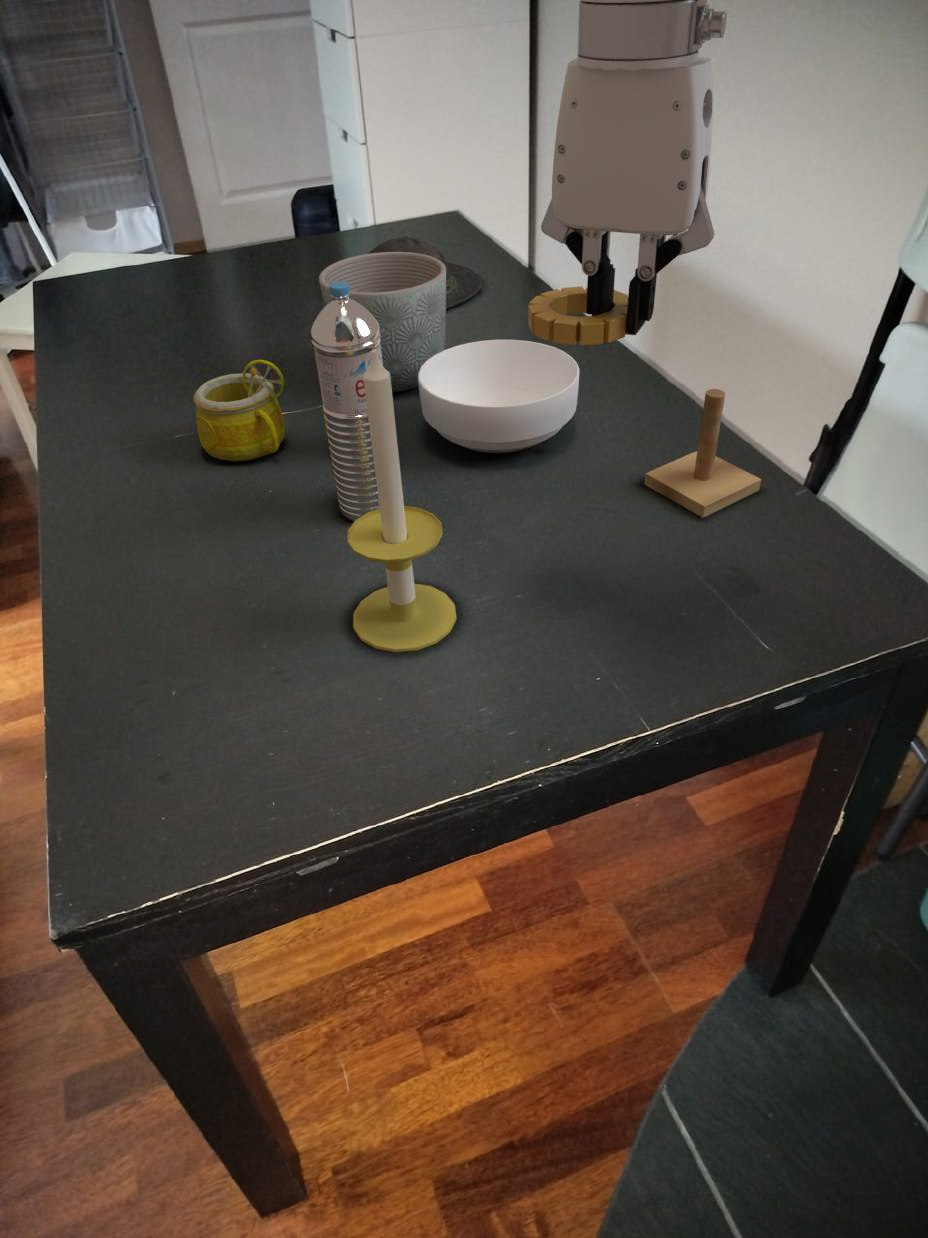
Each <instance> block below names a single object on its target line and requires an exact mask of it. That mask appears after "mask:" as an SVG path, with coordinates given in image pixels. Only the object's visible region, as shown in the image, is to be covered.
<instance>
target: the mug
mask: <svg viewBox="0 0 928 1238" xmlns="http://www.w3.org/2000/svg"><path fill="white" fill-rule="evenodd" d="M256 364H262V365H266V366H267V368H266V371H265V373H264V375H263V376H262V374H261V372H259V369H258V368H257V366H256ZM248 368H250V370H249V373H246V372H247V370H248ZM271 369H273V370H274V371H275V372H276V374H277V375H278V377H279V378H276V379H273V378H271V379H268V378H266V377H267V376H268V374H269V372H270V371H271ZM274 384H278V385H280V389H279V391H278V392H277V393H275V391H274V389H275V387H274ZM284 388H285V379H284V376H283V374H282V371H281V370H280V369H279V367H277V366H276V365H275V364H274V363H272V362H271V361H268V360H264V359H254V360H252V361H250V362H248V363H247V364H246V366H245V367H244V368H243V371H242V373H229V374H225V375H221V376H218V377H215V378H212V379H210V380H207V381H206V382H204V383H203V384H201V385H200V386H199V388H197V390H196V391H195V392H194V394H193V396H192V397H193V398H192V400H193V402H194V405H195V407H196V408H195V416H196V427H197V434H198V438H199V442H200V445H201V448H203V449H204V451H205V452H206V453H207V454H208V455H209V456H211V457H213V458H215V459H218V460H222V461H228V462H245V461H252V460H255V459H260V458H262V457H264V456H267V455H271V454H273V453H276V452H277V451H279V448H280V445H281V444H282V442H283V441H284V439H285V437H286V433H287V431H286V430H287V429H286V423H285V419H284V416H283V411H282V409H281V406H280V404H279V401H278V397H280V396H281V394H282V393H283V390H284Z"/></svg>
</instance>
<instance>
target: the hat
mask: <svg viewBox="0 0 928 1238" xmlns="http://www.w3.org/2000/svg"><path fill="white" fill-rule="evenodd" d="M380 252H410V253H418V254H424V255H428V256H431V257H434V258H436V259H438V260H440V261H441V262H442V263H443V264H444V265H445V267H446V310H448V309H451V308H452V307H455V306H457V305H459V304H462V303H465V302H466V301H468V300H469V299H471V298H472V297H474V296H475V295H476V294H477V293H478V292H480V291H481V289H482V287H483V285H482V279H481V277H480V276H479V275H478V274H477V273H476V272H475V271H474V270H473V269H472V268H469V267H466V266H463V265H459V264H456V263H452V262H447V260H446V257H445V256H444V255H443V253H442V252H441V250H439V249H438V248H437V247H436V246H434V245H433V244H430V243H428V242H426V241H424V240H421V239H419V238H414V237H410V236H400V237H397V238H391V239H388V240H386V241H384V242H382V243H380V244H378V245H377V246H375V247H374V248H373V249H371V250H370V251H369V252H368V253H367V254H371V253H380ZM451 275H452V276H453V277H454V278H455V280H456V283H455V280H454V278H452V277H451ZM454 283H455V285H454ZM453 285H454V287H453ZM452 287H453V288H452Z"/></svg>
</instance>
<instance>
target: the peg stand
mask: <svg viewBox="0 0 928 1238" xmlns="http://www.w3.org/2000/svg"><path fill="white" fill-rule="evenodd" d="M725 398H726V392H725V391H724V390H723V389H718V388H711V389H710V388H709V389H707V390H706V391H705V394H704V400H703V408H702V415H701V423H700V429H699V435H698V443H697V450H696V451H694V452H691V453H689V454H686V455H684V456H681V457H680V458H677V459H675V460H673V461H669V462H668V463H665V464H664V465H661V466H659V467H656V468H654V469H651V470H650V471H648V472H645V473H644V474H645V476H644V485H645V487H648V488H649V489H651V490H653V491H655V492H657V493H658V494H660V495H661V496H663V497H665V498H666V499H668V500H670V501H672V502H674V503H676V504H677V505H679V506H680V507H683V508H684V509H686V510H688V511H690V512H692V513H693V514H695V515H697V516H699V517H700V518H702V519H704V518H706V517H708V516H710V515H712V514H714V513H716V512H718V511H721V510H723V509H724V508H726V507H729V506H731V505H733V504H735V503H736V502H738V501H741V500H742V499H745V498H747V497H749V496H751V495H753V494H756V493H757V492H759V491H760V487H761V484H762V478H761V477H758V476H757V475H754V474H752V473H750V472H748V471H746V470H744V469H742V468H740V467H738V466H736V465H734V464H732V463H730V462H729V461H726V460H724V459H722V458H721V457H718V456H716V455H717V448H718V442H719V437H720V429H721V423H722V416H723V410H724V404H725Z"/></svg>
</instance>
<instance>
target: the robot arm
mask: <svg viewBox="0 0 928 1238" xmlns="http://www.w3.org/2000/svg"><path fill="white" fill-rule="evenodd" d="M707 3H708V0H579V2H578V29H577V58H574V59H572V60H571V61H569V62H567V67H566V71H565V72H566V73H565V76H564V81H563V86H562V92H561V98H560V105H559V110H558V115H557V116H558V117H557V123H556V131H555V141H554V151H553V163H552V177H551V199H550V201H549V204H548V207H547V209H546V212H545V214H544V217H543V219H542V222H541V225H540V230H541V232H542V233H543V234H544V235H546V236H548V237H549V238H551V239H552V240H555V241H556V242H558V243H560V244H564V245H565V246H566V248H567V249H568V250H569V251H570V253H571V254H572V255H573V256H574V258H576V260H577V261H578V262H579V264H580V265H581V271H582V273H583V274H584V275H586V276H587V280H586V281H587V284H586V288H587V304H586V312H587V315H590V316H597V315H600V314H603V313H606V312H609V311H611V310H612V302H613V296H614V290H615V280H616V279H615V278H616V268H615V267H614V264H613V263H612V264H611V258H610V248H611V236H612V235H611V233H623V234H637V235H639V243H638V257H637V258H638V259H637V268H635V269H634V271H635V272H634V276H633V278H631V279H630V280H629V285H628V294H627V295H628V308H627V322H626V332H627V333H628V335H629V336H637V334H638V333H639V331H640V330H641V329H642V328H643V326H644V325H645V324H646V322H650V321H651V320H652V318H653V315H654V310H655V300H656V289H657V288H656V287H657V278H658V273H660V272H661V271H662V270H664V268H665V267H667V266H668V265H669V264H670V263H671V262H673V261H674V260H675V259H676V258H677V257H679V256H682V255H686V254H689V253H692V252H695V251H698V250H700V249H701V250H702V249H704V248H706V247H707V246H709V245H710V244H711V242H712V241H713V239H714V237H715V230H714V227H713V226H714V225H713V223H712V219H711V215H710V212H709V208H708V203H707V197H708V190H709V182H710V181H709V180H710V170H711V169H710V168H711V156H712V155H711V154H712V140H713V111H714V89H713V88H714V86H713V85H714V83H713V67H712V59H711V58H710V57H707V56H699V52H700V49H702V47H703V45H704V44H705V42H710V41H711V40H712V39H716V38H717V39H722V38H724V36H725V31H726V26H727V18H728V17H727V14H728V13H727V11H725V10H724V11H716V10H715V9H714V8H710V4H707ZM667 236H670V237H669V238H668V239H667ZM628 335H627V336H628Z"/></svg>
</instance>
